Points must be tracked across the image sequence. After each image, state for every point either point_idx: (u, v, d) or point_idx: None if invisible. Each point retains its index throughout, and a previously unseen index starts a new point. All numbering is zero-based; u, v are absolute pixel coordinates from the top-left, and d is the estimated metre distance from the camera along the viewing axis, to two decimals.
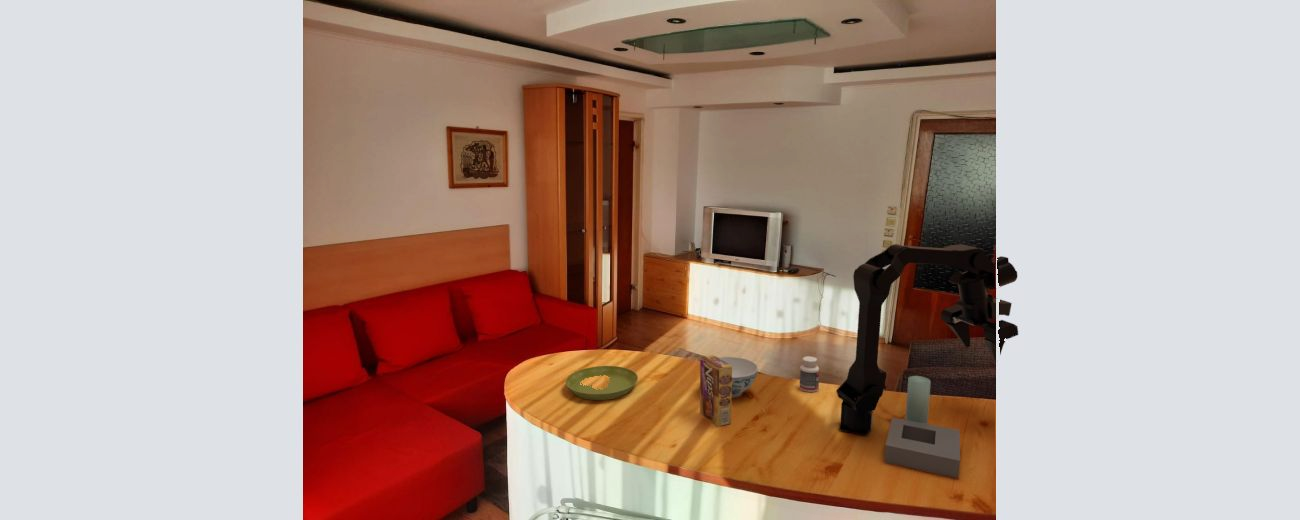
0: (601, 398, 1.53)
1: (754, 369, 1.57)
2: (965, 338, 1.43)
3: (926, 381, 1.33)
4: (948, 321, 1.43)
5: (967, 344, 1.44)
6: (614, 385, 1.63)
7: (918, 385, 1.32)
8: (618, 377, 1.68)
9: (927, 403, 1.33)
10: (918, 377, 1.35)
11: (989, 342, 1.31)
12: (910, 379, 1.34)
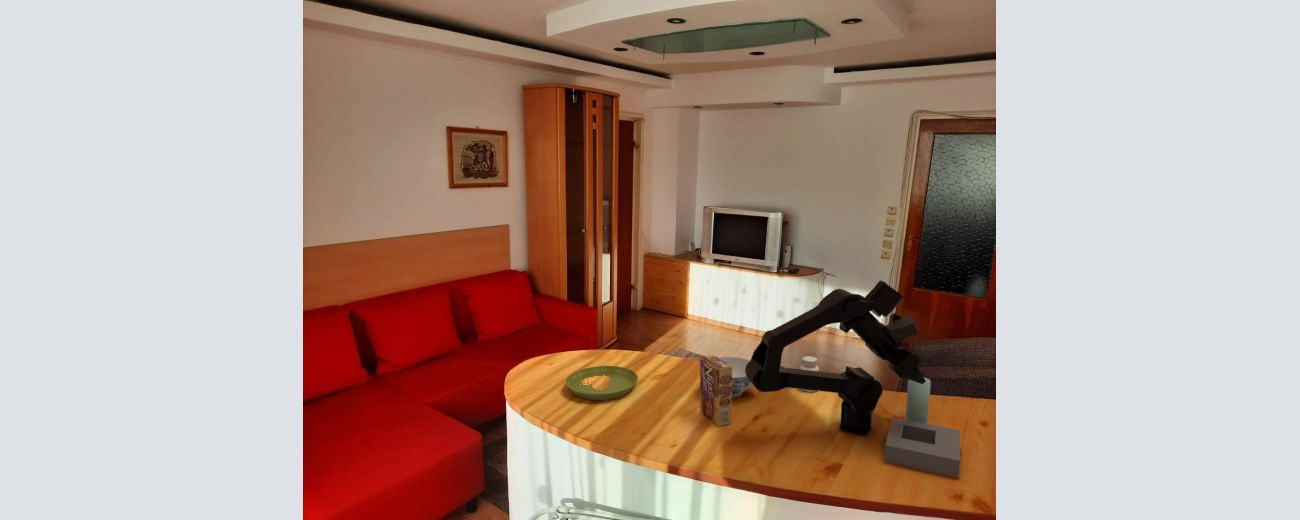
0: (601, 398, 1.53)
1: None
2: None
3: (926, 381, 1.33)
4: (873, 352, 1.39)
5: None
6: (614, 385, 1.63)
7: (918, 385, 1.32)
8: (618, 377, 1.68)
9: (927, 403, 1.33)
10: None
11: None
12: None
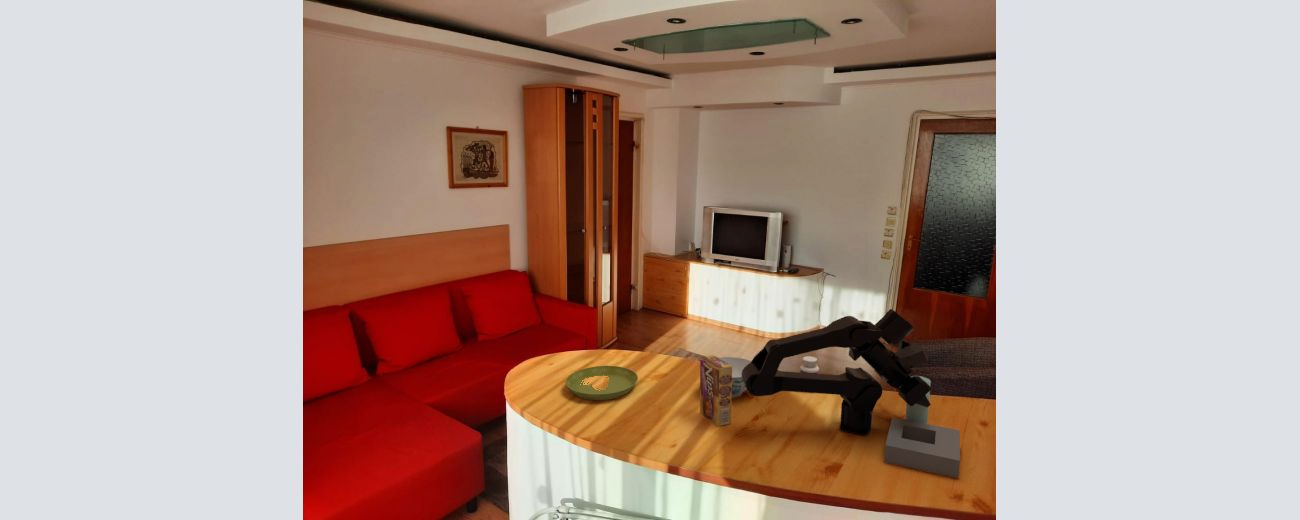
0: (601, 398, 1.53)
1: None
2: None
3: (926, 381, 1.33)
4: None
5: None
6: (614, 385, 1.63)
7: None
8: (618, 377, 1.68)
9: None
10: None
11: None
12: None
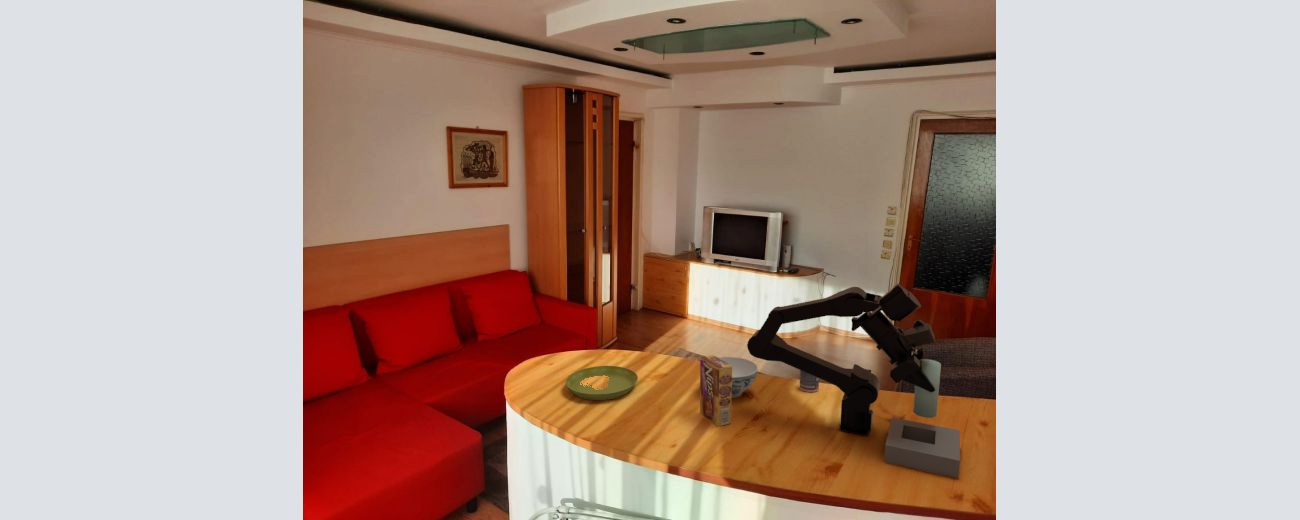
0: (601, 398, 1.53)
1: (754, 369, 1.57)
2: None
3: (934, 365, 1.24)
4: None
5: None
6: (614, 385, 1.63)
7: (923, 367, 1.25)
8: (618, 377, 1.68)
9: None
10: (931, 361, 1.27)
11: None
12: (919, 361, 1.27)
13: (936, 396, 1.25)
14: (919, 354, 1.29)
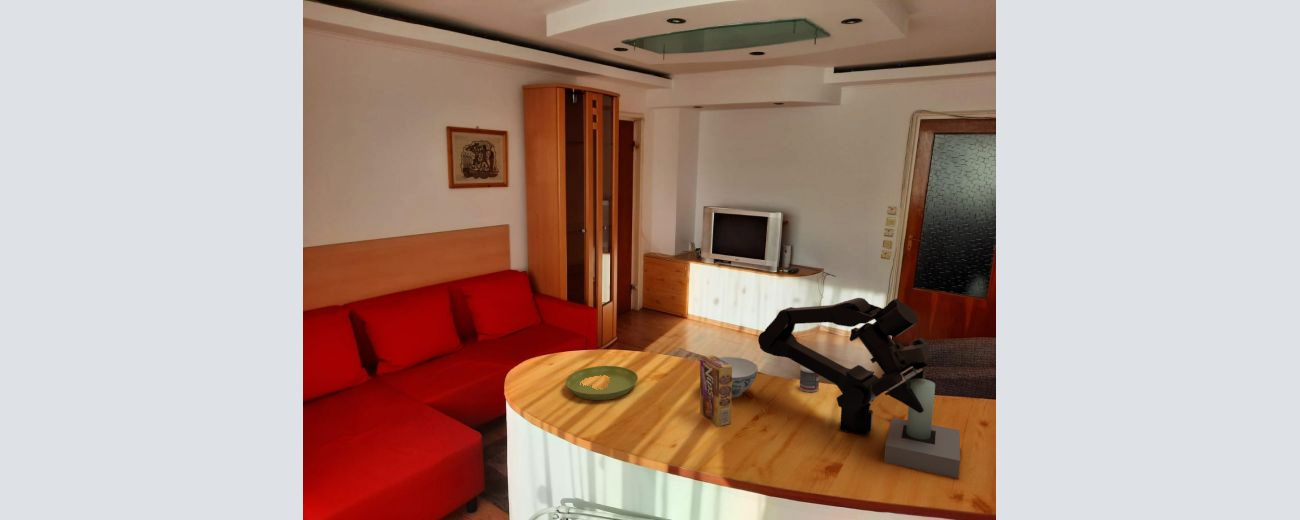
0: (601, 398, 1.53)
1: (754, 369, 1.57)
2: None
3: (926, 385, 1.21)
4: None
5: None
6: (614, 385, 1.63)
7: (913, 386, 1.22)
8: (618, 377, 1.68)
9: None
10: (927, 381, 1.23)
11: None
12: (914, 379, 1.24)
13: (927, 418, 1.21)
14: (919, 373, 1.25)
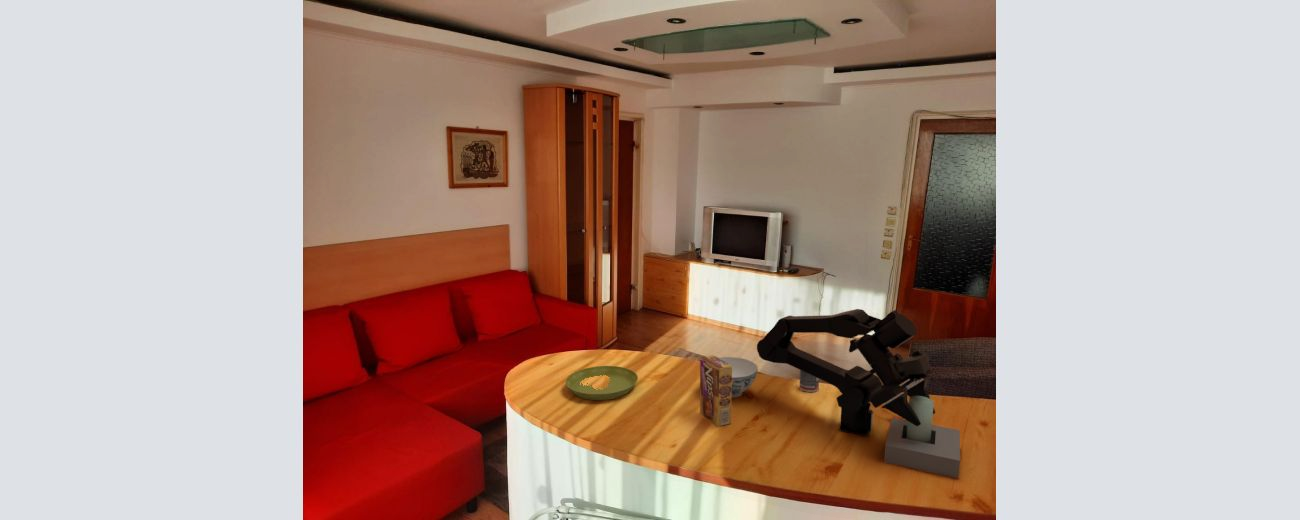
0: (601, 398, 1.53)
1: (754, 369, 1.57)
2: None
3: (924, 403, 1.21)
4: None
5: None
6: (614, 385, 1.63)
7: (911, 403, 1.22)
8: (618, 377, 1.68)
9: (922, 427, 1.22)
10: (926, 399, 1.24)
11: None
12: (913, 397, 1.25)
13: (926, 435, 1.22)
14: (920, 383, 1.27)
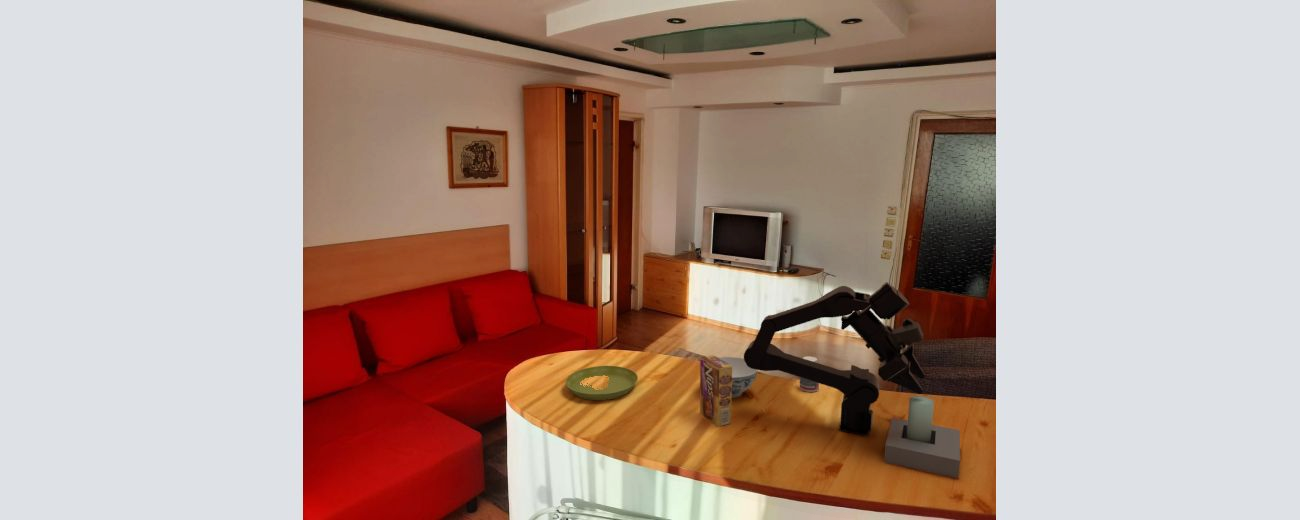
0: (601, 398, 1.53)
1: (754, 369, 1.57)
2: (914, 369, 1.32)
3: (925, 403, 1.21)
4: None
5: (920, 375, 1.31)
6: (614, 385, 1.63)
7: (912, 403, 1.22)
8: (618, 377, 1.68)
9: (922, 427, 1.22)
10: (926, 399, 1.23)
11: None
12: (913, 397, 1.25)
13: (926, 435, 1.22)
14: (909, 350, 1.32)
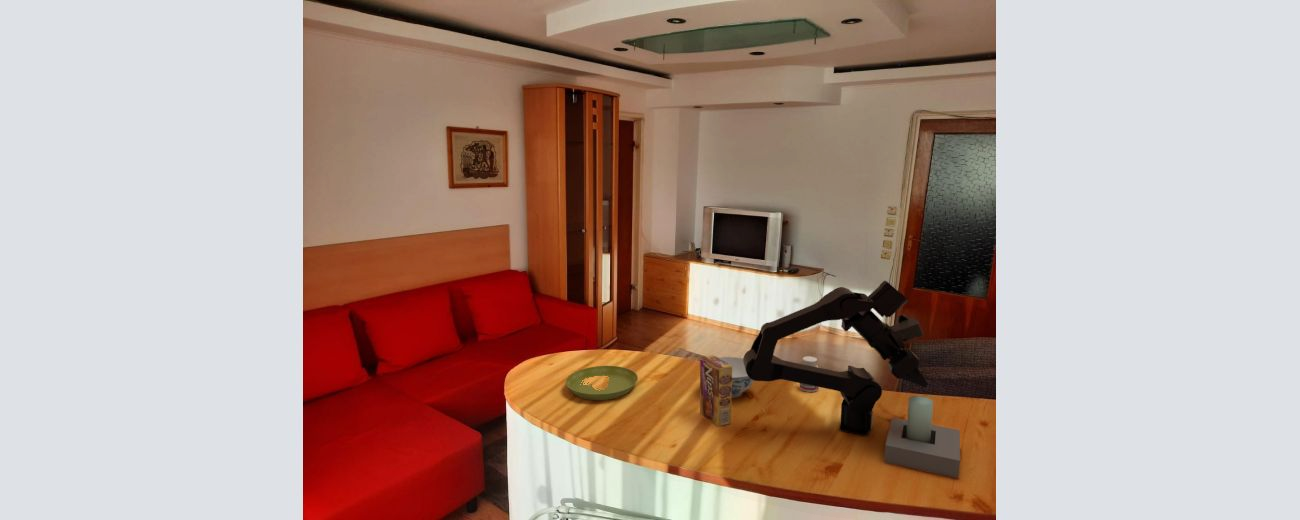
0: (601, 398, 1.53)
1: None
2: None
3: (924, 403, 1.21)
4: None
5: None
6: (614, 385, 1.63)
7: (911, 404, 1.22)
8: (618, 377, 1.68)
9: (921, 427, 1.22)
10: (925, 399, 1.23)
11: None
12: (912, 397, 1.24)
13: (925, 435, 1.22)
14: None
